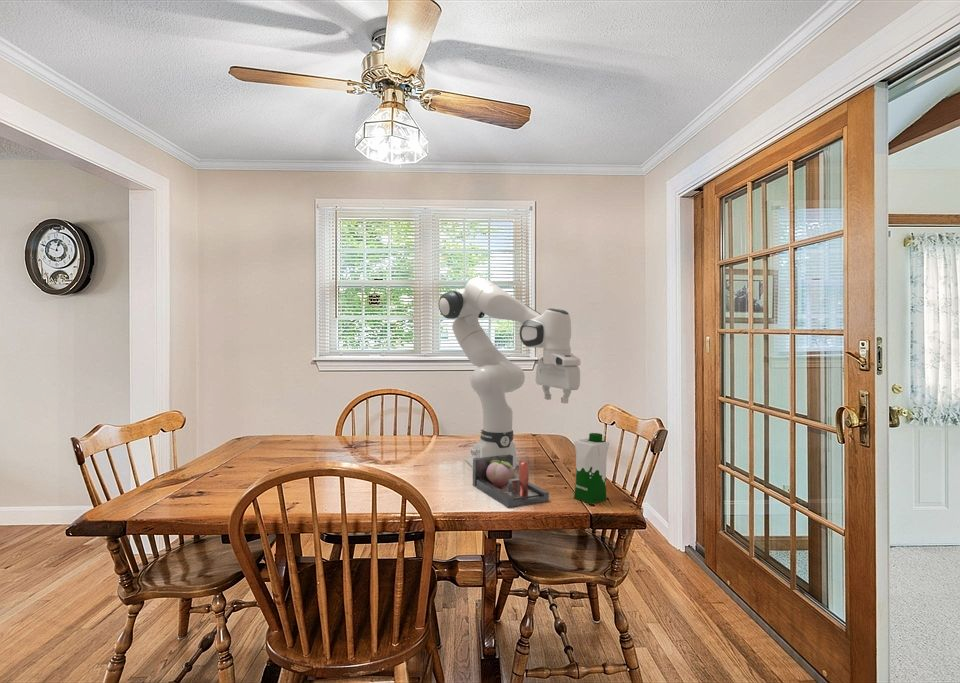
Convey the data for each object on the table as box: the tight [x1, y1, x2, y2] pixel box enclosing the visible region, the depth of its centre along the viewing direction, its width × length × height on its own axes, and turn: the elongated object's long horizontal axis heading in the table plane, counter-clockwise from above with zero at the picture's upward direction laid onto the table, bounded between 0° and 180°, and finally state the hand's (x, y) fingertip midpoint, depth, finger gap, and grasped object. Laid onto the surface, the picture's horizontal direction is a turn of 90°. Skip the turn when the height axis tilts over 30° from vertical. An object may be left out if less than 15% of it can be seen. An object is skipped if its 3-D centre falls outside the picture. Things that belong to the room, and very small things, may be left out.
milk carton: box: [573, 432, 610, 505], centre depth 160 cm, size 9×9×20 cm
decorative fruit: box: [486, 458, 515, 489], centre depth 170 cm, size 9×8×10 cm
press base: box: [472, 455, 550, 509], centre depth 165 cm, size 24×14×9 cm, turn 26°
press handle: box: [506, 460, 540, 500], centre depth 159 cm, size 6×10×12 cm, turn 116°
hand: (556, 401), depth 168 cm, fingers open, 8 cm apart
